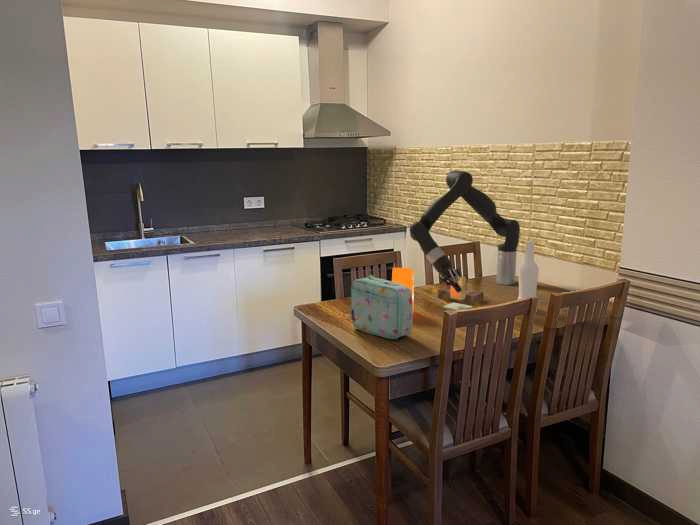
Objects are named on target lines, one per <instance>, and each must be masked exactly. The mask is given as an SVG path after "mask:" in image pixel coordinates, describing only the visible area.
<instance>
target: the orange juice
mask: <svg viewBox="0 0 700 525" xmlns="http://www.w3.org/2000/svg"><path fill="white" fill-rule="evenodd" d="M391 272H392V273H391V281H392V282H396V283H399V284H402V285H405V286H407V287H409V288H410V290H411V292H412V299H413V312H414V310H415V309H414V306H415V305H414V304H415V303H414V297H415V293H414V292H415V288H414V284H415V282H414V281H415V280H414V279H415V278H414V268H413V267H392V271H391Z"/></svg>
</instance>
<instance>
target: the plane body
mask: <svg viewBox="0 0 700 525" xmlns="http://www.w3.org/2000/svg"><path fill="white" fill-rule="evenodd" d="M445 285H446V286H445V287H442V288H440V289H438V292H437V297H438V299H441V300H446V301H451V302H454V303H459V304H464V305H469V306H474V305H476V304H478V303H480V302H482V301H484V291H483V290H478V289H477V290H476V289H471V288H466V289H465V299H463V300H458V299H453V298H450V292H451V285H450V286H448V285H447V284H446V283H445ZM481 300H482V301H481ZM479 301H480V302H479ZM477 302H478V303H477ZM475 303H476V304H475ZM473 304H474V305H473Z"/></svg>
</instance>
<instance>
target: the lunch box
mask: <svg viewBox="0 0 700 525" xmlns="http://www.w3.org/2000/svg"><path fill="white" fill-rule="evenodd" d="M350 297H351V298H350V301H349V303H350V317H351V318H350V319H351V323H352V325H353V327H354V328H355V329H357V330H359V331H361V332H363V333H367V334H371V335H374V336H376V337H377V336H378V337H382V338H384V339H388V340H397V339H399V338H400V337H404V336H409V335H410V334H412V330H413V322H414V321H413V320H414V311H413V299H412V292H411V290H410V288H409V287H407V286H405V285H402V284H399V283H396V282H392V280H387V279H383V278H380V277H379V278H378V277H375V276H374V275H368V277H364V278H357V279H355V280H353V283H352V284H351V287H350Z"/></svg>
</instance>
